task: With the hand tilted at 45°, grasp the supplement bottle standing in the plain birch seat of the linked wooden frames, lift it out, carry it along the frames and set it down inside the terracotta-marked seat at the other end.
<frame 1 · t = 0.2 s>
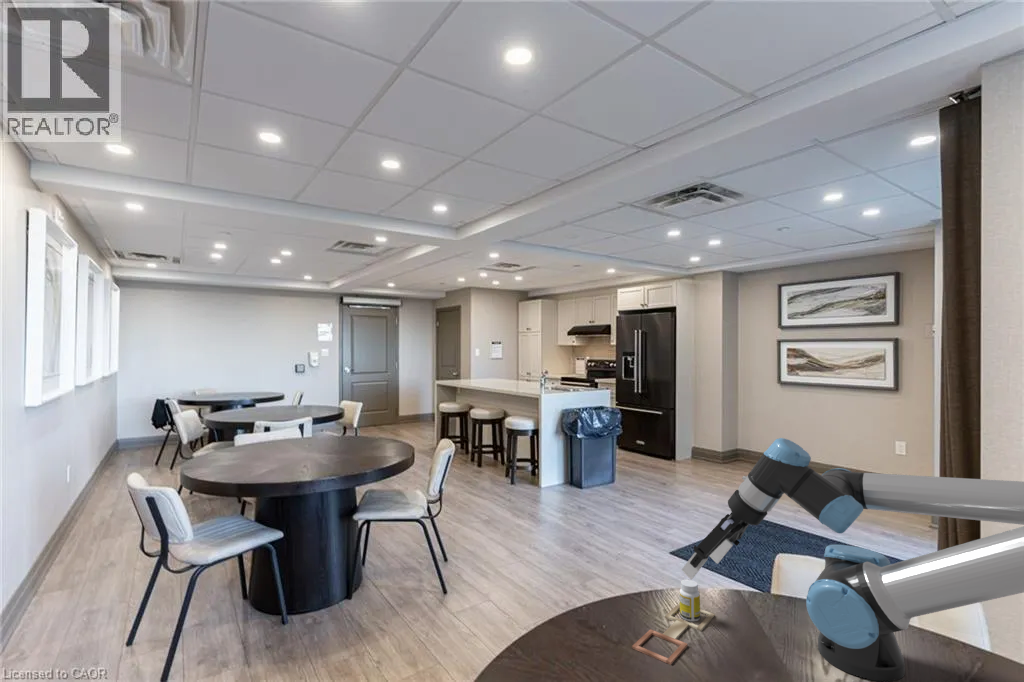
hand: (700, 566, 116), 16 cm above the table, tool tilted 35°, fingers open, 13 cm apart
supplement bottle: (690, 617, 123), resting in linked wooden frames
linked wooden frames: (675, 631, 116), on the table
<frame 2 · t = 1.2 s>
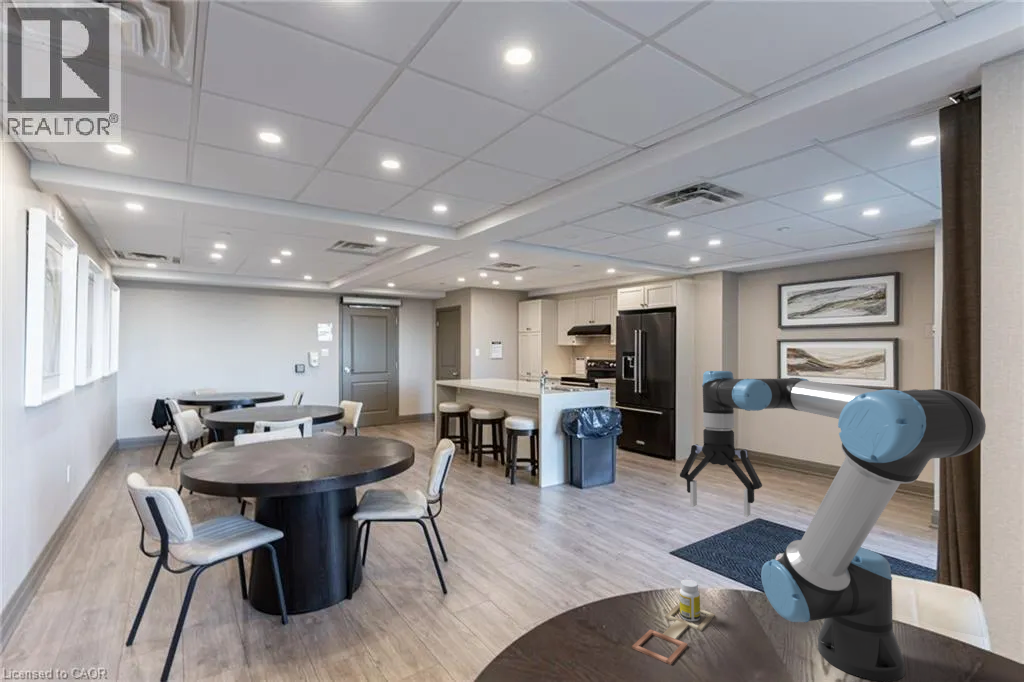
hand: (719, 510, 129), 24 cm above the table, tool pointing down, fingers open, 13 cm apart
nothing on the table moved.
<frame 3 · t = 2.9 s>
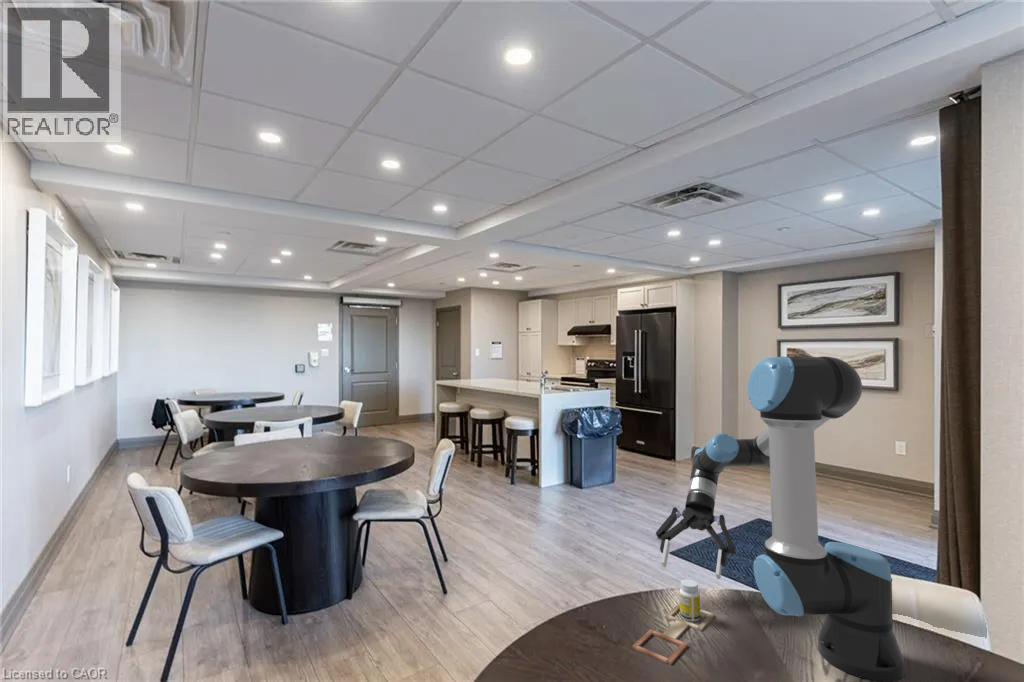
hand: (689, 570, 128), 9 cm above the table, tool tilted 45°, fingers open, 13 cm apart
nothing on the table moved.
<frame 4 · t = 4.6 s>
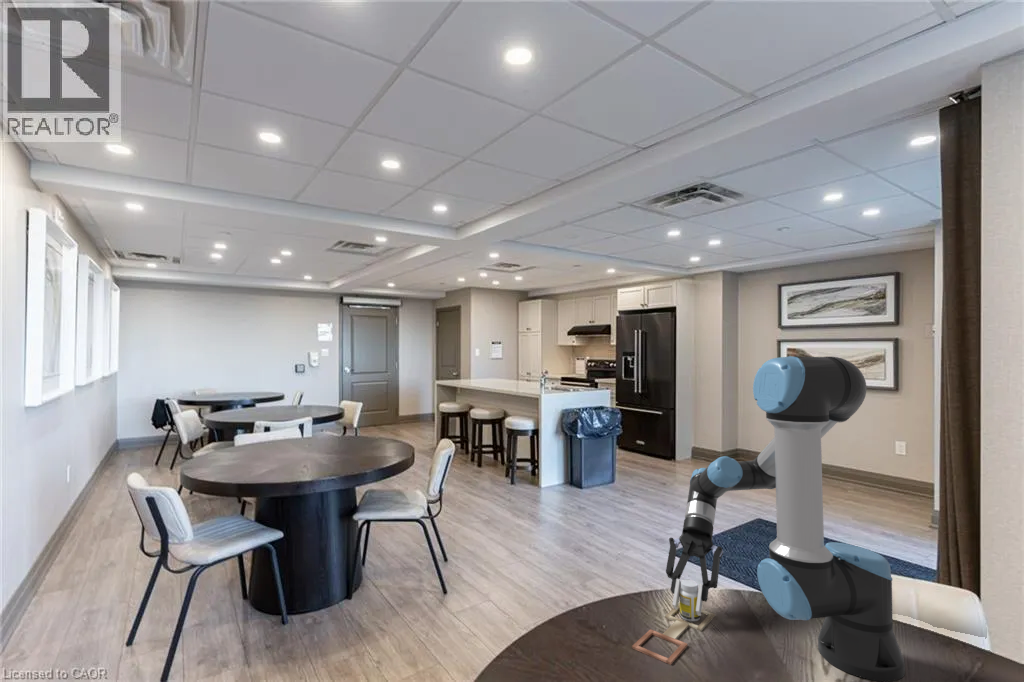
hand: (686, 610, 120), 3 cm above the table, tool tilted 45°, fingers closed on supplement bottle, 5 cm apart
supplement bottle: (690, 617, 123), resting in linked wooden frames, touching gripper
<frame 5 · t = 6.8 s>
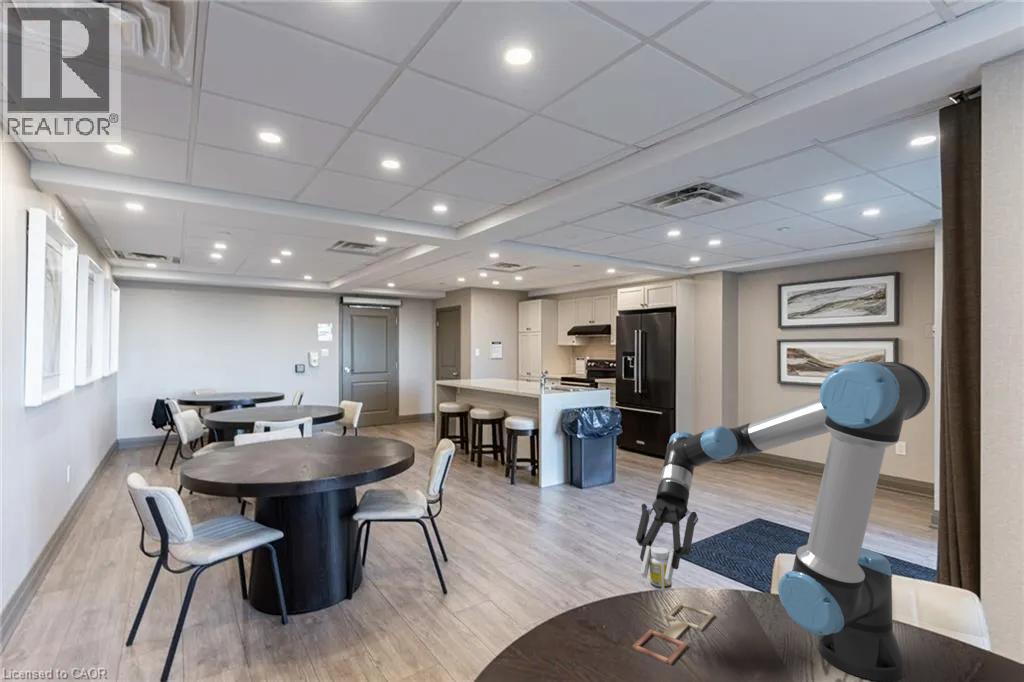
hand: (655, 578, 111), 15 cm above the table, tool tilted 45°, fingers closed on supplement bottle, 5 cm apart
supplement bottle: (660, 587, 114), point 12 cm above the table, touching gripper
when the fingers open (5 cm above the table, at t = 9.3 s): supplement bottle drops 1 cm, resting in linked wooden frames.
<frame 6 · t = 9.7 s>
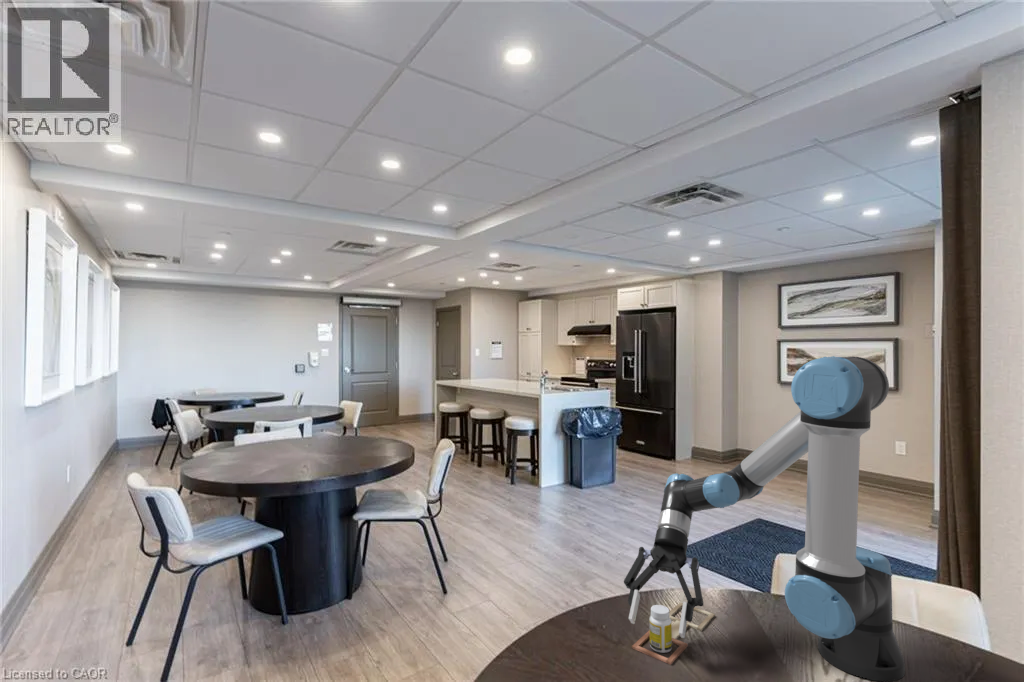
hand: (655, 628, 108), 6 cm above the table, tool tilted 45°, fingers open, 10 cm apart
supplement bottle: (660, 648, 110), resting in linked wooden frames
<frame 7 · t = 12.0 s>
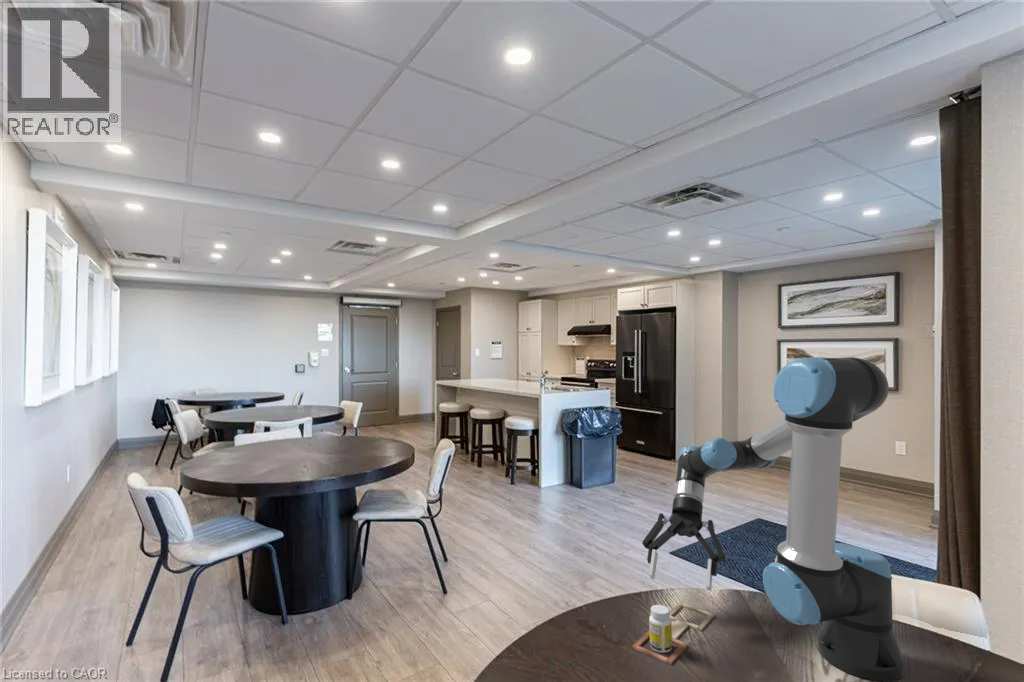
hand: (679, 582, 121), 9 cm above the table, tool tilted 40°, fingers open, 13 cm apart
nothing on the table moved.
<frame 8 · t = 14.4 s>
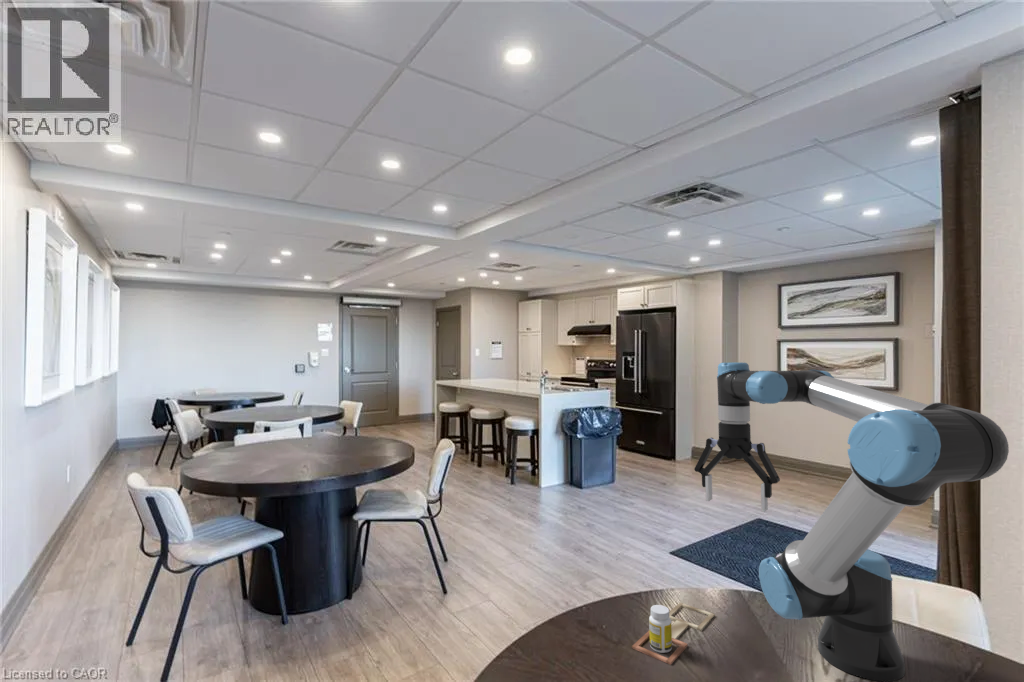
hand: (735, 505, 126), 27 cm above the table, tool pointing down, fingers open, 13 cm apart
nothing on the table moved.
at the end: supplement bottle 0.1 cm from the target spot on the linked wooden frames, point 0.0 cm above the linked wooden frames's base; supplement bottle tilted 0°; the gripper is holding nothing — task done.
